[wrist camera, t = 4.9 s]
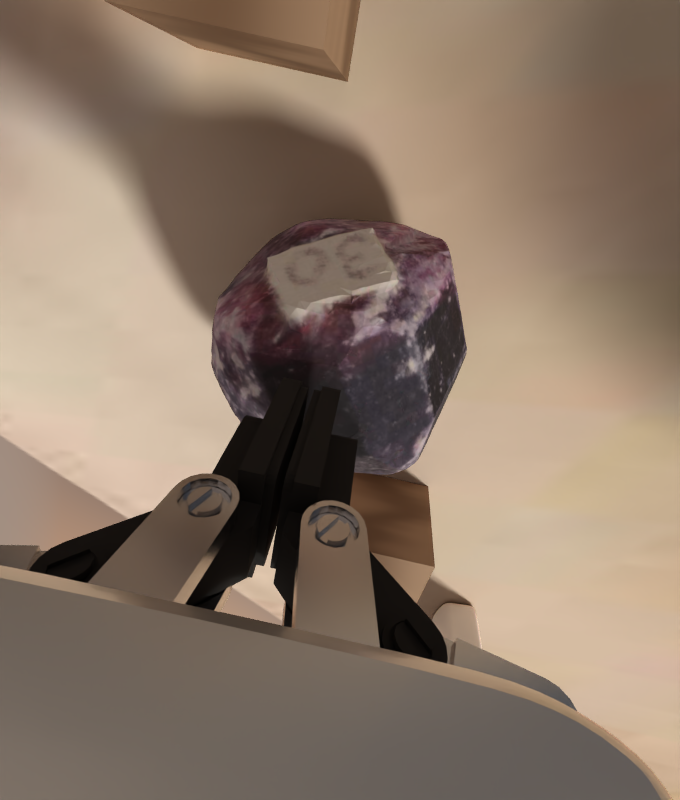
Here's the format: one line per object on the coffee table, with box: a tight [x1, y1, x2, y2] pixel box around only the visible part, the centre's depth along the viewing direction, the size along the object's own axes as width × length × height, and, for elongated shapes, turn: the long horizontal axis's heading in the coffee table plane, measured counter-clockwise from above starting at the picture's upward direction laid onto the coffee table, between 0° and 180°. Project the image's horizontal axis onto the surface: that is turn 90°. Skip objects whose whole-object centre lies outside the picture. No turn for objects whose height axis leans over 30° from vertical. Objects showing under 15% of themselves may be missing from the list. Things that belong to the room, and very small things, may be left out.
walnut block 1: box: [350, 472, 435, 604], centre depth 25 cm, size 6×6×6 cm
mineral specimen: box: [211, 219, 467, 474], centre depth 17 cm, size 10×10×10 cm
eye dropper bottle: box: [432, 603, 482, 649], centre depth 28 cm, size 4×6×12 cm
